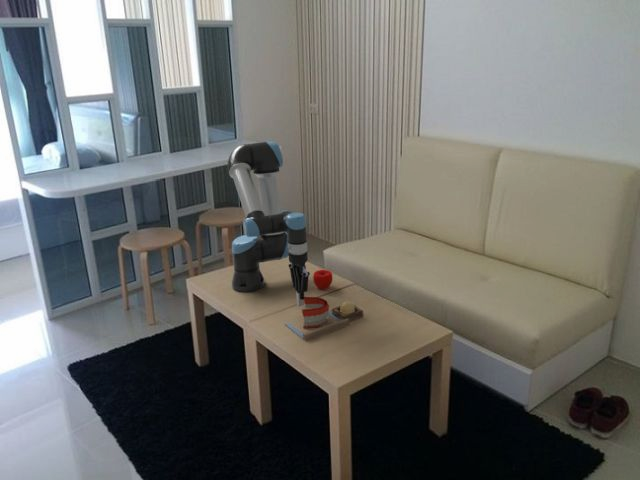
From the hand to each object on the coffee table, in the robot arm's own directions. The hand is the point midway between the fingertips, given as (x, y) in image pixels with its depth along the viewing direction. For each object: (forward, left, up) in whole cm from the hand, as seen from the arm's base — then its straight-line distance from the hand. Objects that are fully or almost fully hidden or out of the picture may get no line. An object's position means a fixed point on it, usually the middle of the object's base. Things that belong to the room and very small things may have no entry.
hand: (300, 305), depth 235 cm
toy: (+9, +2, -4) cm, 10 cm away
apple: (-16, +21, -4) cm, 27 cm away
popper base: (+13, +14, -4) cm, 20 cm away
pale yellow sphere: (+13, +14, -4) cm, 20 cm away
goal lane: (+11, 0, -4) cm, 12 cm away
